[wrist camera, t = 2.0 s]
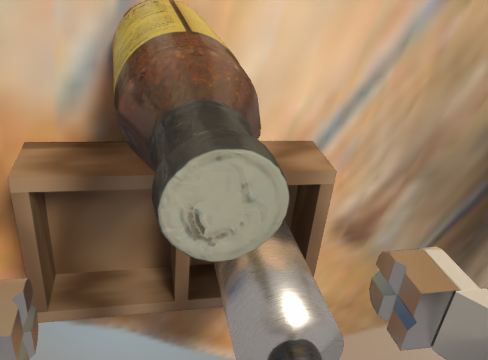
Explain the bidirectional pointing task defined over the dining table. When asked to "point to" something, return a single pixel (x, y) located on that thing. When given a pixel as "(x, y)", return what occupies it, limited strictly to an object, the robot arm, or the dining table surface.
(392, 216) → the dining table surface
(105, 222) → the condiment caddy
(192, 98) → the sauce bottle
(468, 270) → the dining table surface
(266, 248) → the pepper mill
